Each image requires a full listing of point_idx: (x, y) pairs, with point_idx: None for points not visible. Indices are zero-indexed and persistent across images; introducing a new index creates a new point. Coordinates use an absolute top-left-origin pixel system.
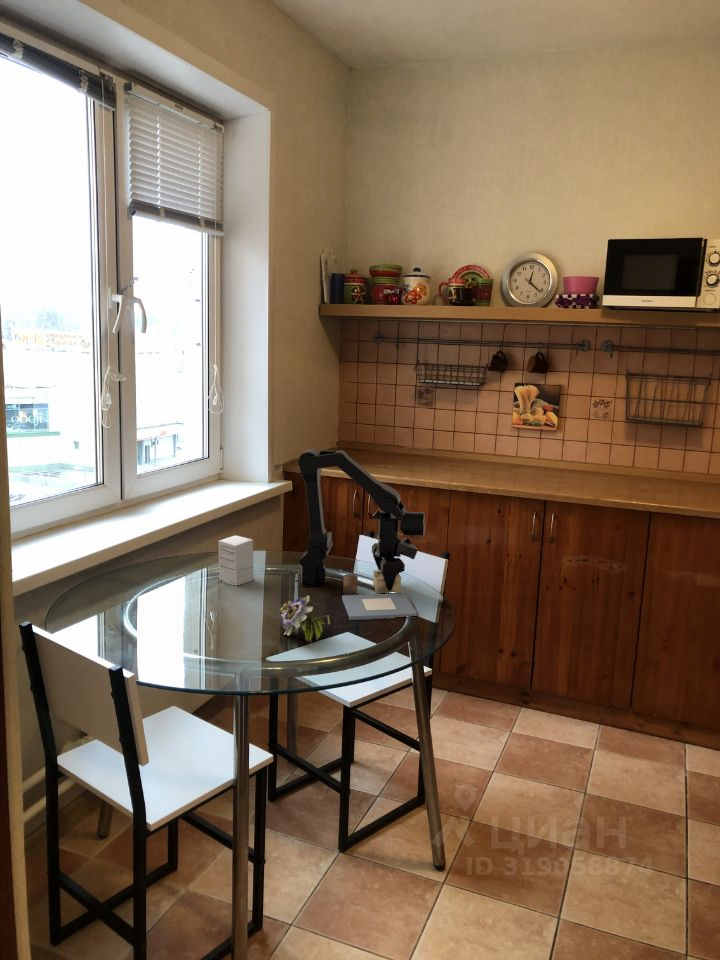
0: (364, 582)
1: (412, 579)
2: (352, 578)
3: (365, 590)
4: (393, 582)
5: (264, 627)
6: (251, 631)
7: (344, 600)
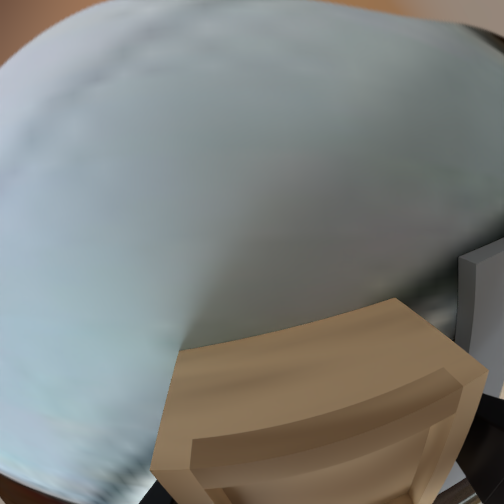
0: None
1: (21, 207)
2: None
3: None
4: (493, 399)
5: None
6: None
7: (464, 477)
